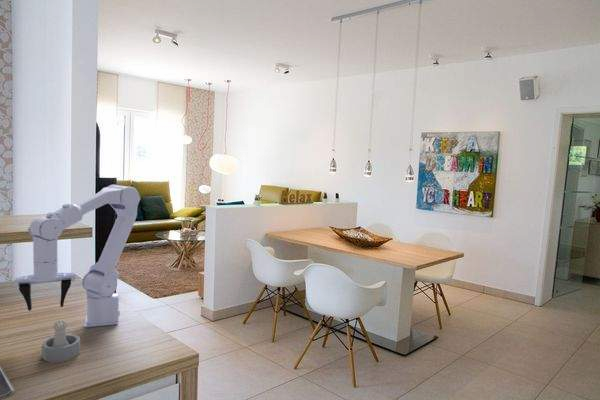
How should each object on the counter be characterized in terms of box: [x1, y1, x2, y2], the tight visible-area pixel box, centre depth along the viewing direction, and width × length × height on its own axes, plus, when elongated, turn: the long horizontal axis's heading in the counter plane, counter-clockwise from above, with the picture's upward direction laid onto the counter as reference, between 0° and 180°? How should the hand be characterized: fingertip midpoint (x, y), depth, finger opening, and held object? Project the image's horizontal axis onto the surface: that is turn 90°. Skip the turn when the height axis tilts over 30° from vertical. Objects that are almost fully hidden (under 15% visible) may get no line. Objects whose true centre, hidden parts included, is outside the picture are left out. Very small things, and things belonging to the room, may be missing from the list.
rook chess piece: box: [51, 320, 69, 347], centre depth 111 cm, size 4×4×8 cm
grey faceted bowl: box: [41, 333, 81, 363], centre depth 111 cm, size 9×9×4 cm
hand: (46, 307), depth 117 cm, fingers open, 7 cm apart
